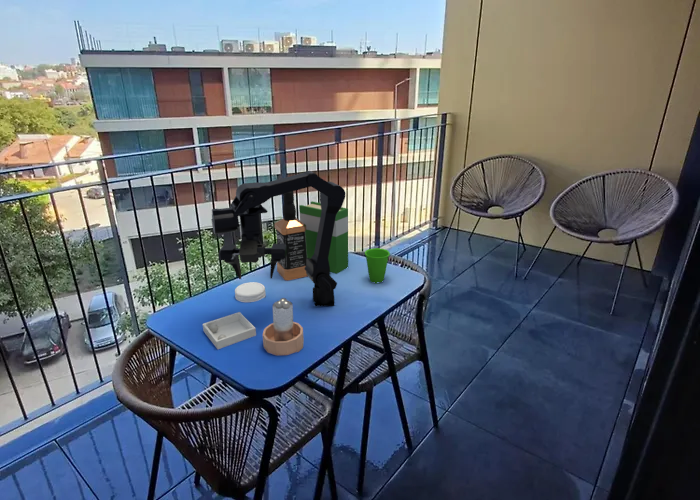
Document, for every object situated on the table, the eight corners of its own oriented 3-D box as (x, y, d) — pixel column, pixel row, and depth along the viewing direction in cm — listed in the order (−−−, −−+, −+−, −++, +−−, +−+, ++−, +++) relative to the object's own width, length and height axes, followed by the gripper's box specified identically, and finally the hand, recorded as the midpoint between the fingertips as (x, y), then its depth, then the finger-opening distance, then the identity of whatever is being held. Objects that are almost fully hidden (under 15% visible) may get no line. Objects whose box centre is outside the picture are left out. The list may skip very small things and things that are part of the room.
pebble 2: (228, 339, 115) (227, 332, 114) (226, 344, 113) (225, 337, 112) (219, 340, 115) (218, 332, 114) (217, 345, 113) (216, 337, 112)
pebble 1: (219, 329, 120) (218, 322, 119) (217, 334, 118) (216, 326, 117) (211, 329, 120) (209, 322, 119) (208, 334, 117) (207, 327, 117)
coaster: (230, 296, 141) (229, 286, 139) (257, 288, 146) (256, 279, 145) (243, 307, 133) (241, 298, 132) (270, 298, 139) (270, 289, 138)
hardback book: (302, 263, 166) (299, 205, 157) (314, 257, 172) (312, 201, 163) (336, 273, 156) (335, 213, 148) (348, 267, 162) (347, 208, 153)
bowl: (304, 333, 119) (303, 320, 117) (302, 356, 109) (301, 341, 107) (267, 335, 118) (265, 321, 116) (261, 357, 108) (260, 343, 107)
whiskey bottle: (276, 271, 159) (270, 189, 147) (300, 266, 163) (296, 186, 152) (285, 281, 151) (279, 195, 139) (310, 275, 155) (306, 192, 143)
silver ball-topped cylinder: (289, 333, 116) (288, 292, 110) (296, 345, 112) (295, 302, 106) (271, 338, 114) (269, 296, 108) (277, 350, 110) (275, 306, 104)
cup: (393, 278, 152) (394, 251, 148) (381, 288, 145) (382, 259, 141) (372, 273, 157) (372, 246, 153) (359, 282, 150) (359, 254, 146)
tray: (240, 320, 126) (239, 311, 124) (256, 337, 117) (255, 327, 116) (203, 332, 119) (202, 323, 118) (217, 351, 111) (216, 341, 110)
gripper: (210, 239, 109) (217, 291, 115) (281, 237, 110) (284, 289, 116) (220, 225, 120) (226, 274, 125) (285, 224, 121) (288, 273, 126)
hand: (256, 278), depth 123 cm, fingers open, 9 cm apart
